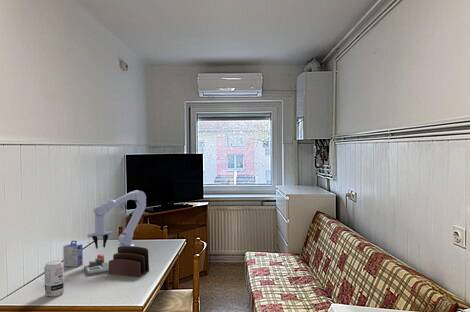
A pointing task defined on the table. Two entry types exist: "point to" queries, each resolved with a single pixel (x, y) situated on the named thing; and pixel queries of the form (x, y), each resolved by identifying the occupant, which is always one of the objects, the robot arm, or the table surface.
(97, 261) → the block
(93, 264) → the block
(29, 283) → the table surface
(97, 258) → the cap
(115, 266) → the letter holder
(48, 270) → the supplement can
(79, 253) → the ink cartridge box
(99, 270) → the breaker panel
